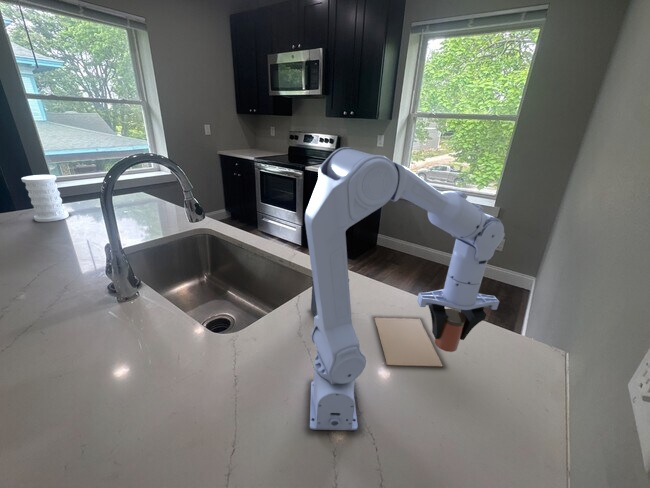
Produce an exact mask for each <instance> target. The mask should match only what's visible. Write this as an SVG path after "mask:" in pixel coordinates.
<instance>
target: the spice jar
mask: <svg viewBox="0 0 650 488" xmlns="http://www.w3.org/2000/svg"><path fill="white" fill-rule="evenodd" d="M445 309H446V311H445V312H446V313H447V315H448V316H449V317H448V319H447V320H446V322H445V324H444V326H443V328H442V332H441V336H440V338H439V339H435V338H434V344H435V346H436V347H437V348H438V349H440V350H442V351H445V352H448V353H453V352H456V351H457V350H458V347H459V345H460V341H461V339H460V338H461V334H462V331H463V328H464V325H465V323H466V316H465V315H464V314H463V313H461V310H460V311H459V310H458V309H456V308H445Z"/></svg>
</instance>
